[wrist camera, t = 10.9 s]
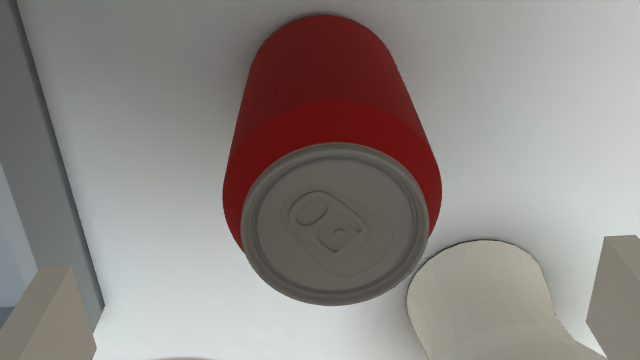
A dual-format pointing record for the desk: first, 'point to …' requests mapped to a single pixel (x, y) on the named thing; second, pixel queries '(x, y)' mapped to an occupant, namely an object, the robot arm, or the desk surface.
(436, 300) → the cup
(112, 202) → the desk surface
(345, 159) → the beverage can
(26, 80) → the tote
